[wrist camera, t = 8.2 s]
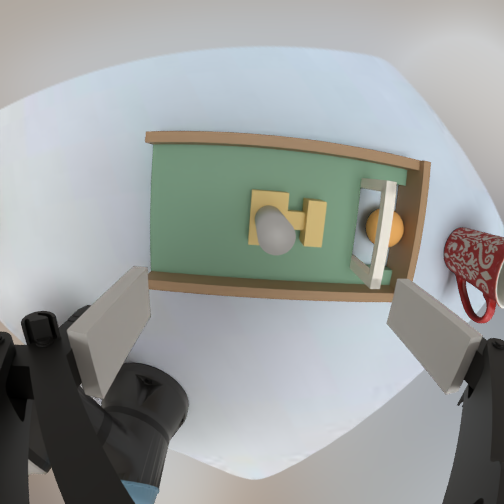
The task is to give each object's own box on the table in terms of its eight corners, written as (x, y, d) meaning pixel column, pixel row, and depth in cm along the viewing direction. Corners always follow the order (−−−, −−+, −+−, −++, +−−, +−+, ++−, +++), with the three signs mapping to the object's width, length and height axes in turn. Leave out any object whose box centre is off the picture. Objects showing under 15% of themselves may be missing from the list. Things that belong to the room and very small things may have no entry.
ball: (388, 251, 37) (361, 251, 35) (381, 215, 38) (355, 213, 36) (414, 242, 32) (388, 242, 30) (406, 204, 33) (380, 200, 31)
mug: (451, 212, 36) (513, 231, 23) (483, 232, 37) (539, 254, 24) (421, 288, 39) (472, 329, 26) (455, 300, 40) (504, 338, 27)
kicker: (248, 240, 34) (248, 271, 24) (251, 189, 33) (254, 196, 22) (315, 245, 35) (342, 276, 24) (320, 195, 33) (353, 206, 23)
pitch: (155, 274, 38) (132, 302, 29) (158, 136, 33) (132, 126, 24) (387, 288, 39) (417, 315, 30) (406, 162, 34) (445, 162, 26)
